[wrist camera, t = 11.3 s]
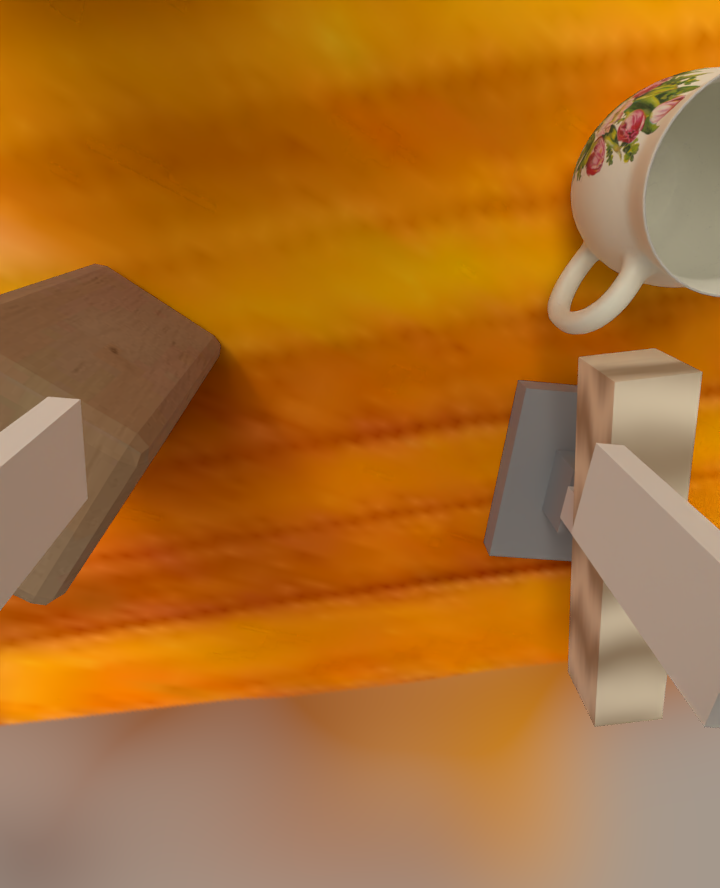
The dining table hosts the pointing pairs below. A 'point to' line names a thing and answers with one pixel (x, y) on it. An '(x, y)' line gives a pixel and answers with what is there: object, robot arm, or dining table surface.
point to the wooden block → (98, 390)
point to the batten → (598, 421)
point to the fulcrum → (536, 476)
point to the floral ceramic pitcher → (647, 199)
